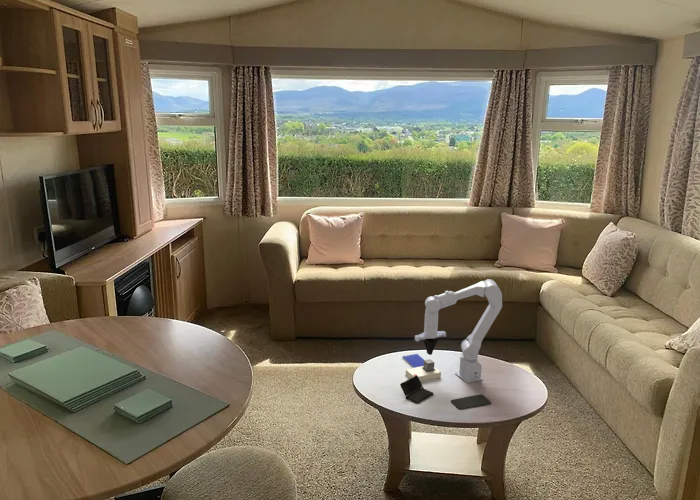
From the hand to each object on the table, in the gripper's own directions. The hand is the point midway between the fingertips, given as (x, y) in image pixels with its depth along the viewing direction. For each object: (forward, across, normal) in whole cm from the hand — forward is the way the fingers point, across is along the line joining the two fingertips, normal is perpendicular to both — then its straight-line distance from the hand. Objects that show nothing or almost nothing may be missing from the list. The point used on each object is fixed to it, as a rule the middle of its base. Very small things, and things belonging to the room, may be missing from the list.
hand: (429, 353), depth 236 cm
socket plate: (+10, +3, 0) cm, 10 cm away
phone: (+10, -3, +27) cm, 29 cm away
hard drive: (+11, -1, -12) cm, 16 cm away
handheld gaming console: (+10, +14, +14) cm, 22 cm away
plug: (+10, 0, 0) cm, 10 cm away
